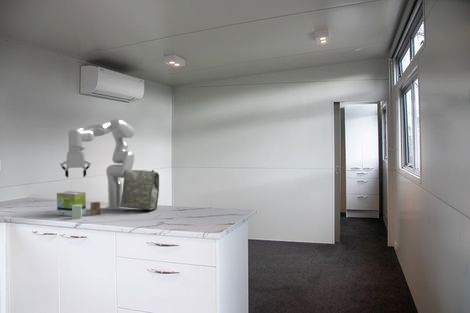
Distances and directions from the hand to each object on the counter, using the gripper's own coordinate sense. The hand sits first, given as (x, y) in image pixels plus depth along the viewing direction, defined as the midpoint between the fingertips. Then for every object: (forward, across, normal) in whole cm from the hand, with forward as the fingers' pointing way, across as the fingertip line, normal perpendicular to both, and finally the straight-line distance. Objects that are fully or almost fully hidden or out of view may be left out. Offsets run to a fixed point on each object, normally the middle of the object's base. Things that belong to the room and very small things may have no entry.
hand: (75, 176), depth 211 cm
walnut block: (+26, -10, -8) cm, 29 cm away
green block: (+26, 0, 0) cm, 26 cm away
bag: (+24, -38, -13) cm, 47 cm away
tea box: (+26, +5, -14) cm, 30 cm away
